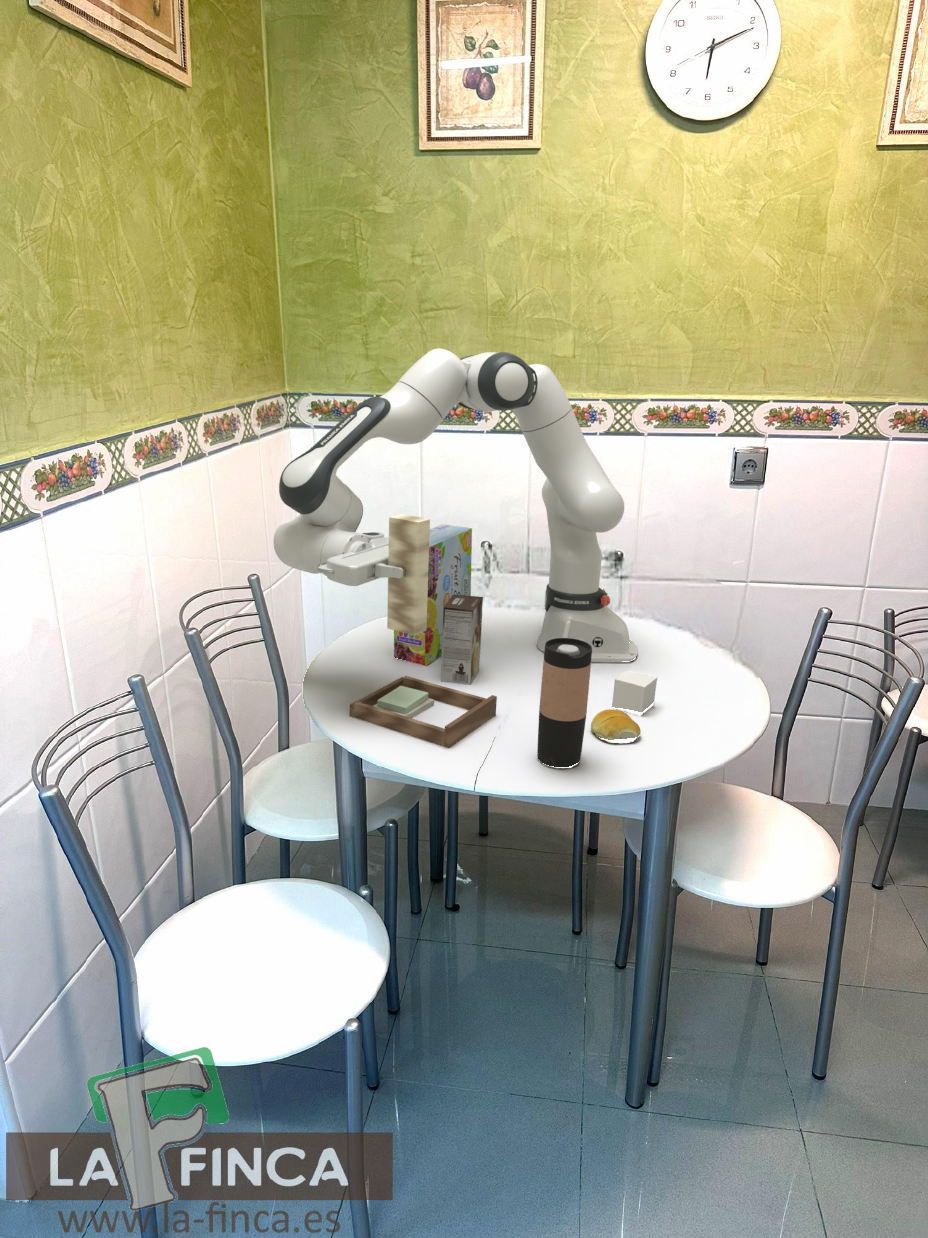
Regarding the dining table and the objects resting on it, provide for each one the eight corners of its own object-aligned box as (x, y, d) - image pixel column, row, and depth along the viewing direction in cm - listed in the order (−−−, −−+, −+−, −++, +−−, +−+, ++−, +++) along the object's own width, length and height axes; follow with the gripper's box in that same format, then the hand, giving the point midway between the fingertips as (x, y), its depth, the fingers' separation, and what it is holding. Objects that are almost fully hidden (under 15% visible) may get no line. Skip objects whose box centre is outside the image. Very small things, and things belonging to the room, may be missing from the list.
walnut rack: (349, 717, 151) (349, 696, 150) (401, 688, 164) (401, 669, 163) (449, 749, 141) (449, 727, 140) (495, 716, 154) (496, 696, 153)
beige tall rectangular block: (387, 628, 150) (389, 517, 143) (398, 623, 153) (401, 514, 146) (415, 635, 147) (418, 522, 140) (426, 630, 150) (430, 519, 143)
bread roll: (624, 722, 155) (627, 702, 154) (645, 744, 147) (648, 723, 146) (582, 724, 153) (584, 704, 152) (601, 747, 145) (603, 726, 144)
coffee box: (449, 666, 177) (452, 593, 172) (479, 670, 176) (483, 596, 170) (439, 683, 168) (442, 606, 163) (471, 686, 167) (475, 609, 162)
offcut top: (377, 706, 153) (377, 700, 152) (400, 691, 160) (400, 685, 159) (405, 714, 150) (405, 707, 150) (428, 698, 157) (428, 692, 157)
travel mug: (547, 744, 145) (556, 634, 138) (589, 756, 141) (600, 644, 135) (527, 761, 138) (536, 647, 132) (570, 775, 135) (581, 658, 128)
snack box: (437, 630, 198) (441, 522, 190) (471, 637, 194) (476, 527, 186) (389, 659, 179) (391, 540, 171) (425, 667, 176) (429, 546, 167)
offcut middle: (371, 712, 153) (371, 706, 153) (402, 695, 161) (402, 690, 160) (403, 723, 149) (403, 717, 149) (433, 705, 157) (434, 699, 157)
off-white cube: (624, 698, 165) (627, 669, 163) (653, 706, 162) (657, 677, 160) (611, 708, 160) (614, 678, 158) (641, 716, 157) (644, 687, 155)
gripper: (310, 550, 143) (376, 564, 136) (382, 530, 160) (444, 542, 153) (310, 586, 145) (375, 601, 138) (382, 562, 162) (443, 575, 155)
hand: (412, 570), depth 146 cm, fingers closed on beige tall rectangular block, 3 cm apart
